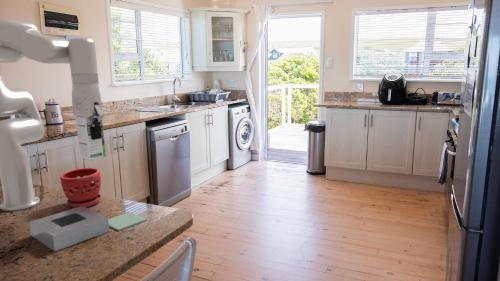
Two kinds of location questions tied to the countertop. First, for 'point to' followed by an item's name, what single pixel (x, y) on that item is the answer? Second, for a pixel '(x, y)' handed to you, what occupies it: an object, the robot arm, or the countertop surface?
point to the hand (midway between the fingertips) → (90, 137)
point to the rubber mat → (125, 221)
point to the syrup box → (89, 140)
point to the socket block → (69, 227)
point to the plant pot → (81, 187)
